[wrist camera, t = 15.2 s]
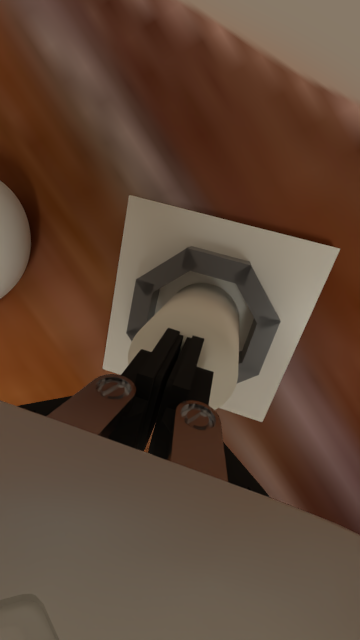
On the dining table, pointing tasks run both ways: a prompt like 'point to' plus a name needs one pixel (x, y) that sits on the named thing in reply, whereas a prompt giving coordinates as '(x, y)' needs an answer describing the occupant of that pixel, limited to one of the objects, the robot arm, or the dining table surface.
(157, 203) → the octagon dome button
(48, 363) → the dining table surface
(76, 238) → the dining table surface
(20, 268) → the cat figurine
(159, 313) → the cream cap
